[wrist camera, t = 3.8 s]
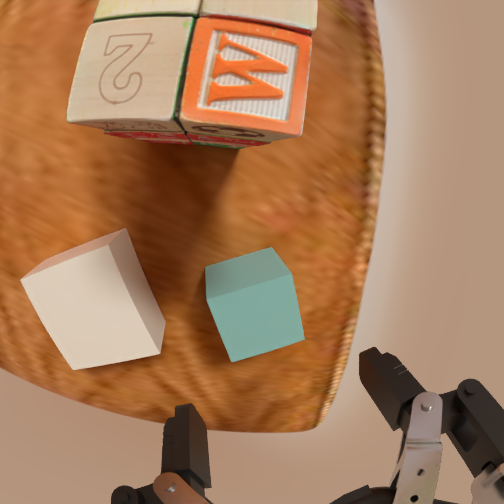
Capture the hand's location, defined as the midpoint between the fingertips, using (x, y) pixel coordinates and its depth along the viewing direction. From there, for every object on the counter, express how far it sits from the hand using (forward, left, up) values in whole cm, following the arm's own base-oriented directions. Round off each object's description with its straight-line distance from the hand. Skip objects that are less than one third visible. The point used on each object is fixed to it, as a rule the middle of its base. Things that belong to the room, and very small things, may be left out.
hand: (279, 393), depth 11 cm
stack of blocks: (-21, +3, -11) cm, 24 cm away
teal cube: (0, 0, -11) cm, 10 cm away
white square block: (-3, -11, -10) cm, 15 cm away
